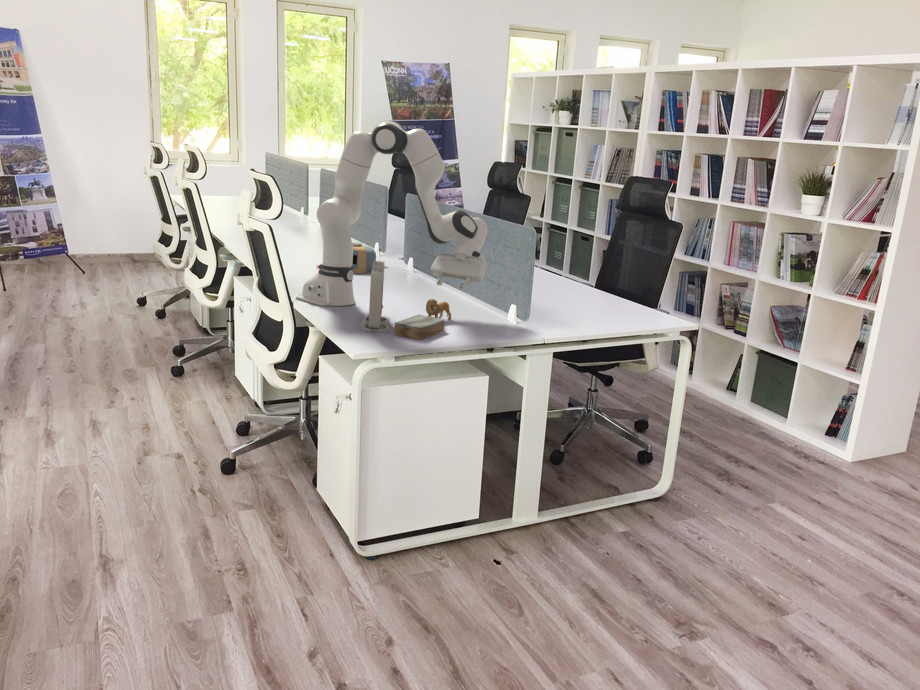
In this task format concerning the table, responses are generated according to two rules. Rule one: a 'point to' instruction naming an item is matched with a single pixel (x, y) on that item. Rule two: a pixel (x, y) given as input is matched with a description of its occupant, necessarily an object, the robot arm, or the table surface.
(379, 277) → the network device
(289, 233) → the table surface
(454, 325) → the table surface
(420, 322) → the plinth
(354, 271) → the alarm clock
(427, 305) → the lion figurine
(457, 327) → the table surface
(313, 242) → the table surface
